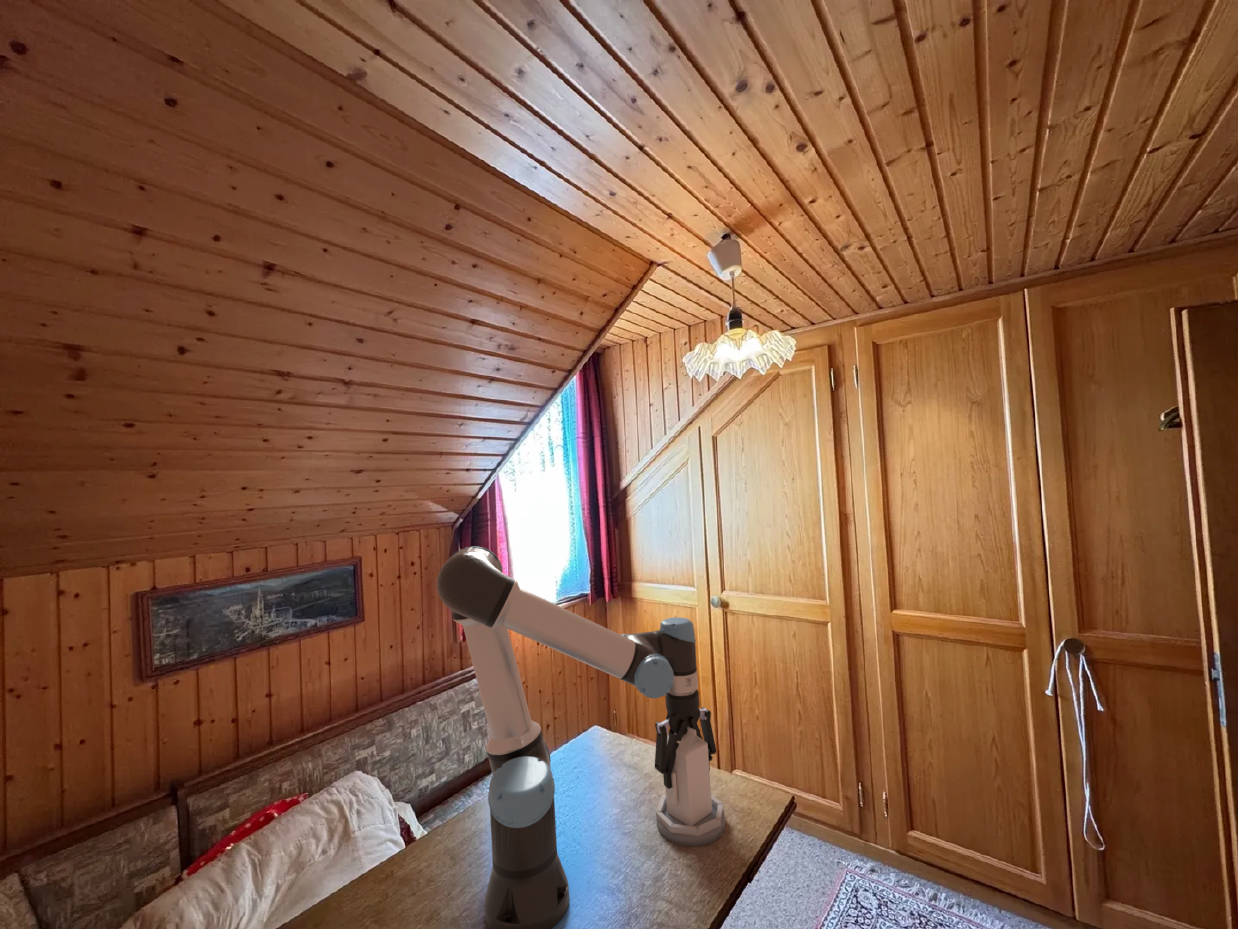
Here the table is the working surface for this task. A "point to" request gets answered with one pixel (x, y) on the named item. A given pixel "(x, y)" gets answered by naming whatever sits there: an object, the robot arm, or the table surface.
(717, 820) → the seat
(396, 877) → the table surface
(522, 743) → the robot arm
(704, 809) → the milk carton
